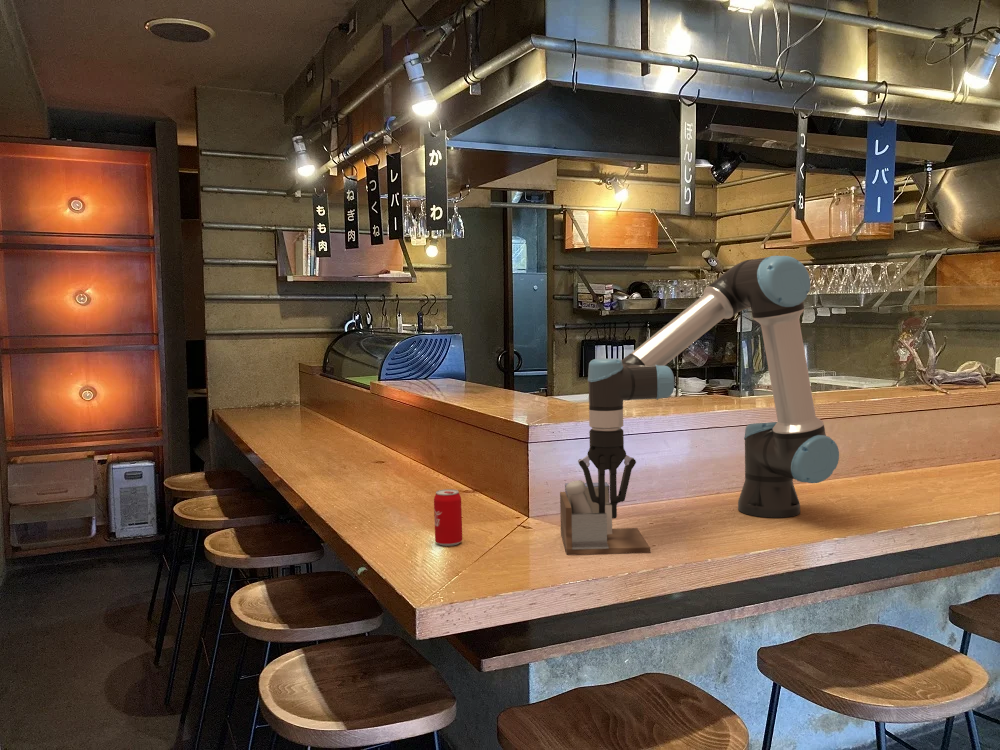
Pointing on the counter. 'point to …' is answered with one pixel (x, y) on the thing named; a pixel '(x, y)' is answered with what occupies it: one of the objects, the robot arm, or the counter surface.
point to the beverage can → (448, 517)
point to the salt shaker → (578, 497)
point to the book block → (593, 505)
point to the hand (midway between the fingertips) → (608, 532)
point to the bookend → (589, 531)
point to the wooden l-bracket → (617, 541)
